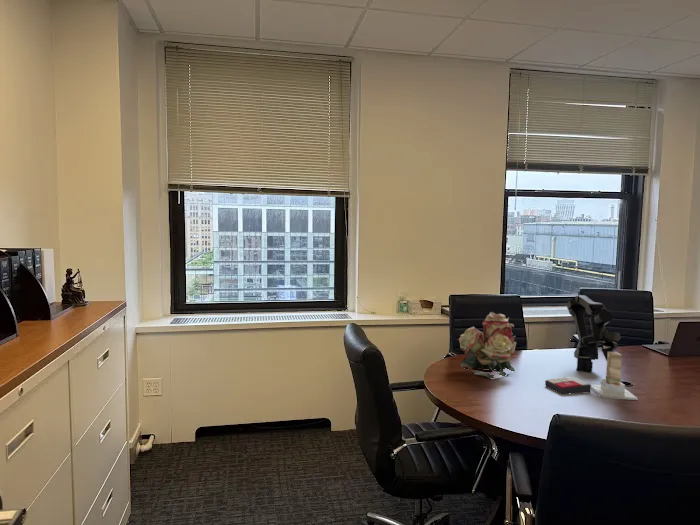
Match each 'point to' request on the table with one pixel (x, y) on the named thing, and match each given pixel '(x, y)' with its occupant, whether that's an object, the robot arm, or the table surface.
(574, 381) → the calculator
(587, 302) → the robot arm
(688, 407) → the table surface
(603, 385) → the sleeve stand
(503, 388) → the table surface
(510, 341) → the rose bouquet
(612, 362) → the column
